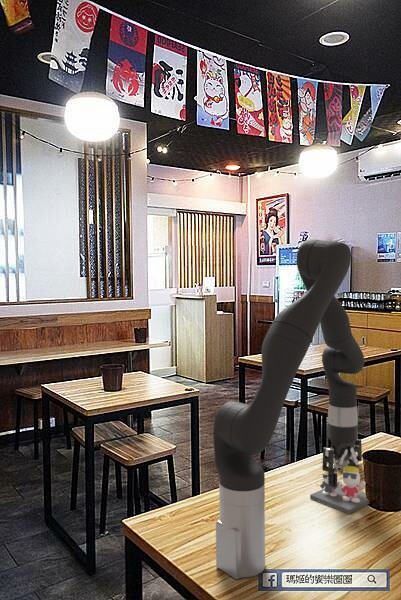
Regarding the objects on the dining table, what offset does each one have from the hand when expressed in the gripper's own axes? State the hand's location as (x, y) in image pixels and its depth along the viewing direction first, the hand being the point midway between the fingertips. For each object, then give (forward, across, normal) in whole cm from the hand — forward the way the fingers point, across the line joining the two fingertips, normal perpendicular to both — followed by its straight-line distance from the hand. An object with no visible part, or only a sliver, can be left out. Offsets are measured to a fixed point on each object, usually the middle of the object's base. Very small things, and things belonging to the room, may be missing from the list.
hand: (342, 482), depth 134 cm
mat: (+5, 0, 0) cm, 5 cm away
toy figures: (+4, 0, 0) cm, 4 cm away
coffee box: (+5, +22, +15) cm, 27 cm away
